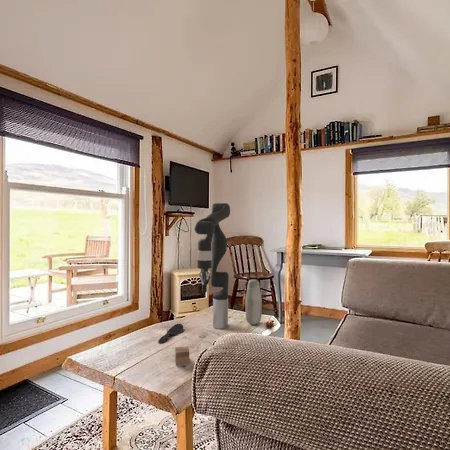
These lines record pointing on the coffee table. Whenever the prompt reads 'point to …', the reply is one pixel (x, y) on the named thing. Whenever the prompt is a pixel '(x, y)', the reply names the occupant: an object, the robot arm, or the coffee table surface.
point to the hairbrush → (172, 332)
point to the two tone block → (182, 355)
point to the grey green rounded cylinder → (253, 302)
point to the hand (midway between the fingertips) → (204, 291)
